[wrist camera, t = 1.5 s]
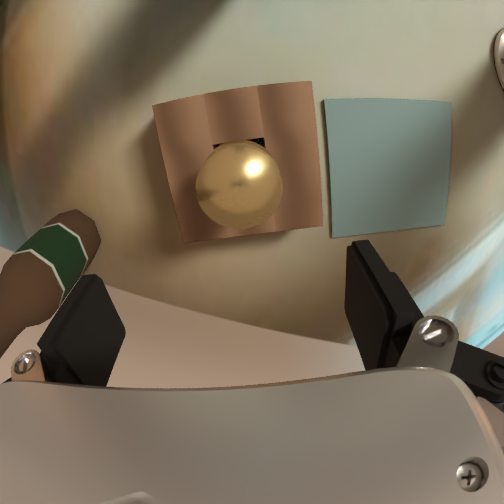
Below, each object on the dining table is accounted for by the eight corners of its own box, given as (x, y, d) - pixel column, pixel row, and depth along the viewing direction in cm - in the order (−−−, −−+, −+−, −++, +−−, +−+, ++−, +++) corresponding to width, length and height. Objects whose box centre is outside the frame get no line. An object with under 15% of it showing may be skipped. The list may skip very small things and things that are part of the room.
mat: (449, 102, 27) (451, 103, 27) (442, 223, 35) (444, 224, 35) (323, 99, 28) (324, 99, 28) (331, 236, 36) (332, 237, 36)
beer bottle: (53, 202, 33) (-72, 322, 13) (103, 213, 34) (-16, 358, 14) (56, 253, 37) (-39, 379, 16) (103, 265, 38) (17, 413, 17)
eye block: (302, 82, 27) (311, 81, 23) (313, 207, 34) (322, 226, 30) (166, 102, 28) (152, 105, 24) (192, 222, 35) (184, 243, 31)
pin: (268, 122, 30) (277, 141, 19) (275, 177, 33) (286, 223, 22) (210, 131, 30) (187, 154, 20) (219, 184, 33) (204, 233, 23)
